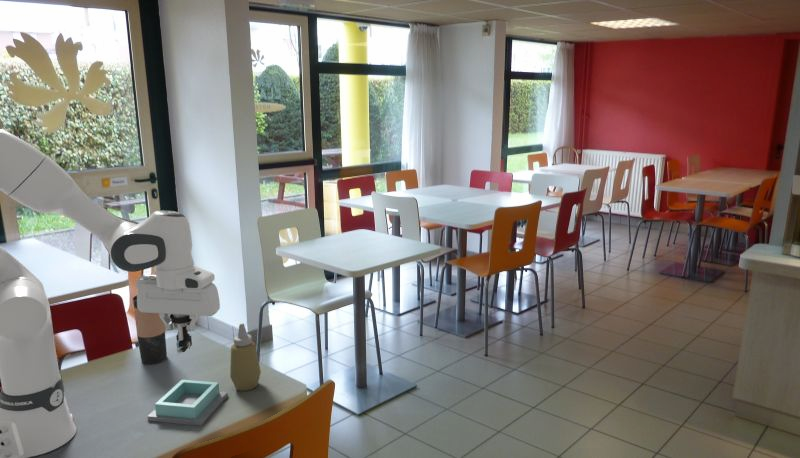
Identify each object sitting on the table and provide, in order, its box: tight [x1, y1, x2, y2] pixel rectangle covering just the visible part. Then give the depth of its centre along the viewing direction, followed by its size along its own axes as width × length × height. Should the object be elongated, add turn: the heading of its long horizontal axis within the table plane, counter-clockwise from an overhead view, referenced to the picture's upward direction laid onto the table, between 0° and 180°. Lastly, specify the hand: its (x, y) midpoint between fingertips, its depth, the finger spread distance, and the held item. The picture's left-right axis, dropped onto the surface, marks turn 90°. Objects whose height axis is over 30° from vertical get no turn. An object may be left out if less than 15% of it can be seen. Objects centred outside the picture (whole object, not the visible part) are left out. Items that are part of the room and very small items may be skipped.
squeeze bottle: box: [229, 323, 262, 392], centre depth 155 cm, size 8×8×18 cm
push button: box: [169, 314, 193, 354], centre depth 143 cm, size 7×5×10 cm
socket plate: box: [147, 379, 229, 426], centre depth 146 cm, size 14×14×4 cm
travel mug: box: [132, 294, 168, 365], centre depth 171 cm, size 8×8×20 cm
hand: (180, 329), depth 143 cm, fingers closed on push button, 4 cm apart
